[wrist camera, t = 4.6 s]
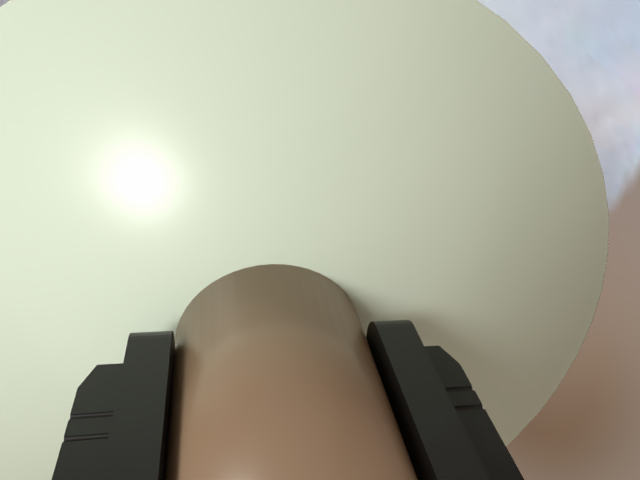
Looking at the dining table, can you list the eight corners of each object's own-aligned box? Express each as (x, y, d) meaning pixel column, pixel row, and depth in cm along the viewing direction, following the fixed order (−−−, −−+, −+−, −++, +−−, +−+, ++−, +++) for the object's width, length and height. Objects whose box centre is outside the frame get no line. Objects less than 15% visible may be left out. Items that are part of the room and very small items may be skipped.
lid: (680, -39, 10) (1219, 13, 4) (500, 491, 16) (630, 751, 11) (-276, -105, 7) (-1501, -155, 2) (-19, 550, 14) (-152, 916, 9)
